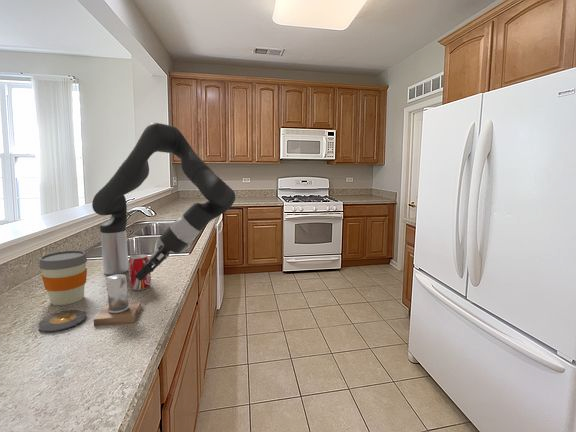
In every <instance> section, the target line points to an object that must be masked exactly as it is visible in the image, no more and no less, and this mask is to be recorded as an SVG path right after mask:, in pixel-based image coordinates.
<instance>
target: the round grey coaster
mask: <svg viewBox="0 0 576 432" xmlns="http://www.w3.org/2000/svg"><path fill="white" fill-rule="evenodd" d="M87 319H88V313H87V312H86V311H85V310H83V309H67V310H62V311H59V312H54V313H52V314H50V315H47V316H45V317H43V318H42V319H41V320H40V321H39V322H38V329H39V331H40V332H43V333H46V334H51V333H59V332H65V331H69V330H72V329H74V328H77V327H79V326H80V325H83V324H84V323H85V322H86V321H87Z"/></svg>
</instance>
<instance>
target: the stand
mask: <svg viewBox="0 0 576 432" xmlns="http://www.w3.org/2000/svg"><path fill="white" fill-rule="evenodd" d="M128 305H129V309H128V310H127V311H126V312H123V313H119V314H110V313H109V312H108V308H109V304H108V303H105V304H104V306H103V307H102V308H101V309H100V311H99V312H98V313H97V315H96V316H95V317H94V318H93V326H94V327H100V326H101V327H103V326H112V325H114V326H115V325H122V324H123V325H124V324H133V323H134V322H135V320H136V318H137V317H138V315H139V313H140V311H141V309H142V307H143V305H142V301H128Z"/></svg>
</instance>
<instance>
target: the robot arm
mask: <svg viewBox="0 0 576 432" xmlns="http://www.w3.org/2000/svg"><path fill="white" fill-rule="evenodd" d="M156 152H157V153H166V154H167V153H168V154H169V153H170V154H173V155H175V156H176V157H177V158H178V159H179V160H180V164H181V170H182V172H183V174H184V175H185V177H187V178H188V180H190V182H191V183H192V184H193V185H194V186H195V187H196V188H197V189H198V190H199V192H200V194H202V196H203V197H204V198H205V199H207V201H205V202H203V203H201V202H196V203H194V204H192V205H191V206H190V207H189V208H188V209H187V210H186V211H185V212H184V213H183V214H182V215H181V216H179V217H178V218H177V219H175V220H174V222H172V223H171V225H169V227H167V228H166V230H165V231H164V232H163V233H161V235H160V236H159V239H160V242H161V243H162V244H159V245H158V246H157V247H156V249H155V250H154V251H153V252H152V254H151V255H150V256H149V257H148V258H149V259H148V260H147V261H146V262H145V263H144V264H143V266H142V269H141V270H140V271H139V272H138V273H137V274H136V275H135V277H136V278H137V279H138V280H140V281H141V280H142V279H143V278H144V277H145V276H146V275H147V274H148V273H149V272H150V273H153V272H154V270H156V268H157V267H159V266H160V265H161V264H162V263H163V262H164V261H165V260H167V259H168V258H169V256H170V254H171V252H172V253H175V254H181V253H182V252H183V250H184V249H186V247H187V246H188V245H189V244H191V242H193V241H194V239H196V237H197V236H198V234H199V233H200V232H201V231H202V230H203V229H204V228H205V227H206V226H208V224H209V223H210V222H211V221H213V220H215V219H216V218H218V217H219V216H221V215H222V214H224V213H226V211H228V210H229V209H230V208H232V206H233V204H234V203H235V202H236V193H235V191H234V189H232V188H231V187H230V186H229V185H228V184H227V183H226V182H225V181H224V180H222V179H221V178H220V177H219V176H218V175H217V174H216V173H215V172H214V171H213V169H212V168H211V167H210V166H209V165H208V164H206V163H205V162H204V161H203V160H202V159H201V158H200V156H198V155H197V153H196V151H194V149H193V147H192V146H191V144H190V143H189V142H188V141H187V139H186V137H185V136H184V135H183V134H182V132H181V131H180V130H179V129H178V128H177V127H175V125H171V124H164V123H159V122H151V123H149V124H148V125H147V126H146V127H145V128H144V129H143V131H142V133H141V135H140V137H139V138H138V140H137V142H136V144H135V146H134V147H133V149H132V150H131V151H130V153H129V154H128V156H127V157H126V158H125V160H124V161H123V162H122V163H121V165H120V166H119V167H118V169H117V170H116V171H115V173H114V174H113V175H112V177H111V178H110V179H109V180H108V181H107V182H106V184H105V185H104V186H103V187H102V188H101V189H100V190H99V191H97V193H96V194H94V197H93V200H92V203H91V205H92V211H93V212H94V213H95V214H97V215H98V216H111V217H110V218H109V219H108V220H106V221H105V222H103V223H101V224H100V226H99V232H100V244H101V245H100V246H101V255H102V269H103V274H105V275H110V276H112V275H117V274H124V273H126V272H129V270H128V261H129V253H128V238H127V223H128V222H127V221H128V216H127V215H128V212H127V211H128V210H127V209H128V208H127V199H126V197H125V195H127V194H129V193H132V192H133V191H135V190H136V189H138V188H139V187H140V186H141V185H142V184H143V183H144V182H145V180H146V179H147V178H148V176H149V174H150V166H149V159H150V157H152V155H153V154H154V153H156Z"/></svg>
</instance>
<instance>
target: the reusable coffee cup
mask: <svg viewBox="0 0 576 432" xmlns="http://www.w3.org/2000/svg"><path fill="white" fill-rule="evenodd" d="M87 262H88V259H87V255H86V252H85V251H84V250H73V249H72V250H62V251H56V252H51V253H47V254H44V255H42V256H41V257H39V264H38V265H39V269H40V270H41V273H42V274H41V280H42V283H43V286H44V289H45V291H47V294H48V298H49V301H50V304H51V305H54V306H65V305H70V304H74V303H75V304H76V303H77V302H79V301H81V300H83V299H84V298H85V286H86V285H85V284H86V283H87V273H88V269H87V268H86V265H87Z"/></svg>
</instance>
